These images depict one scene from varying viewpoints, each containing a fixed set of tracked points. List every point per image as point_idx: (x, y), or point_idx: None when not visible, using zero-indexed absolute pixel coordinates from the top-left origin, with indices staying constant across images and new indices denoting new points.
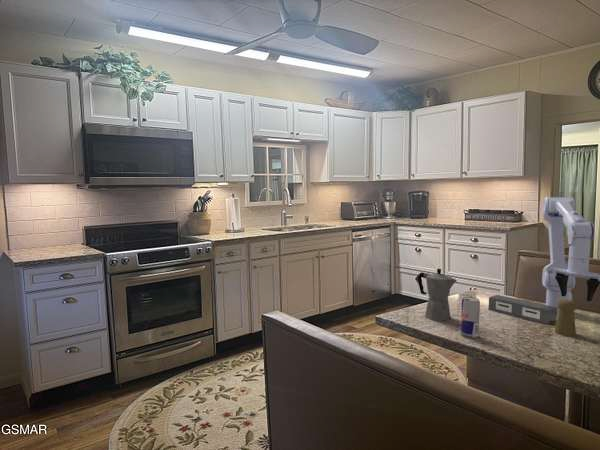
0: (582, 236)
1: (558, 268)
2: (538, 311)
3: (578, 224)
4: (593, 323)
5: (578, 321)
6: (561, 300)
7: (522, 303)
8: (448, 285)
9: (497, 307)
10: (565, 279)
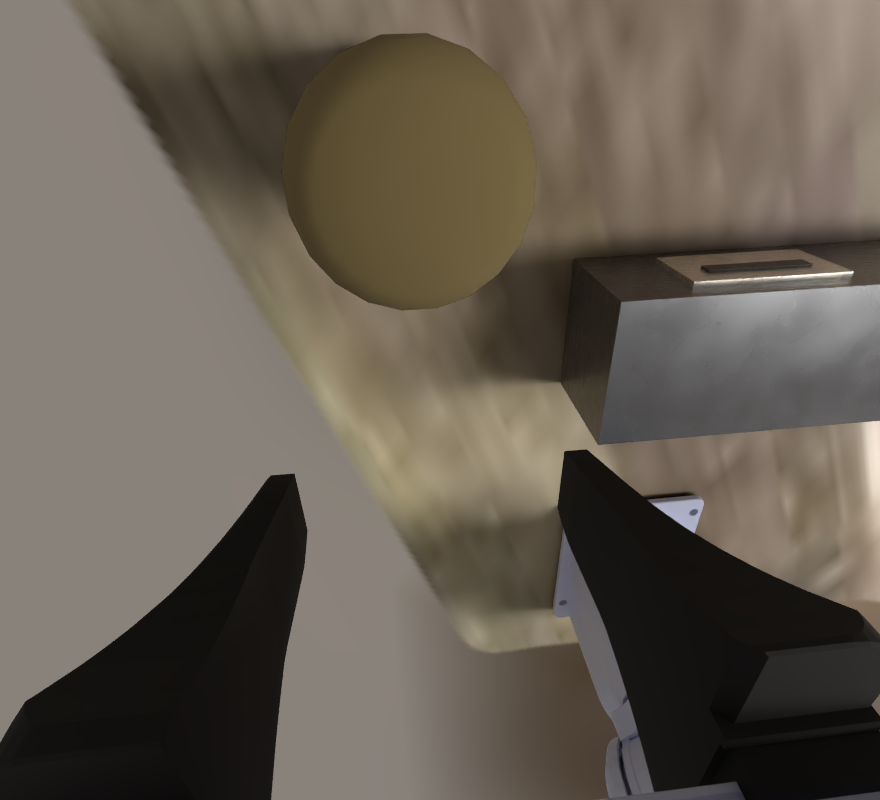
0: None
1: None
2: (703, 279)
3: None
4: (395, 520)
5: (466, 490)
6: (477, 122)
7: (878, 321)
8: None
9: None
10: (664, 694)
